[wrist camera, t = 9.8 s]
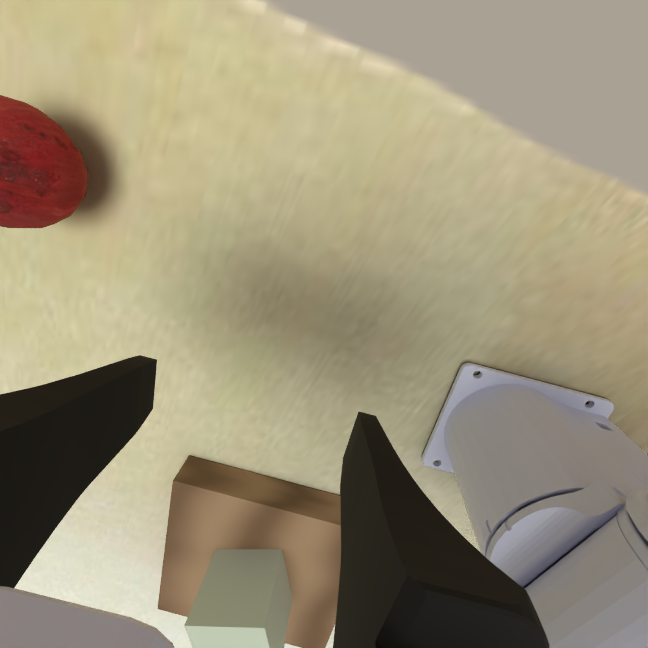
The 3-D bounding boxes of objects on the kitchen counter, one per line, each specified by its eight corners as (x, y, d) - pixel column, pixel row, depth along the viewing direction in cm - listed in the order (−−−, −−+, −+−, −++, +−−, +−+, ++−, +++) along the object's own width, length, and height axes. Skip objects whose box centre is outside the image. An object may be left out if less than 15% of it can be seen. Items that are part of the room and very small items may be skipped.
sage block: (281, 549, 26) (264, 628, 21) (292, 597, 27) (278, 679, 23) (215, 549, 26) (184, 625, 22) (229, 596, 28) (203, 676, 23)
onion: (124, 132, 20) (-21, 95, 12) (114, 235, 22) (-15, 258, 14) (21, 97, 19) (-190, 38, 12) (21, 204, 22) (-160, 210, 14)
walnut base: (370, 503, 27) (371, 533, 25) (325, 619, 32) (322, 653, 29) (189, 455, 27) (173, 480, 25) (172, 578, 32) (157, 608, 30)
